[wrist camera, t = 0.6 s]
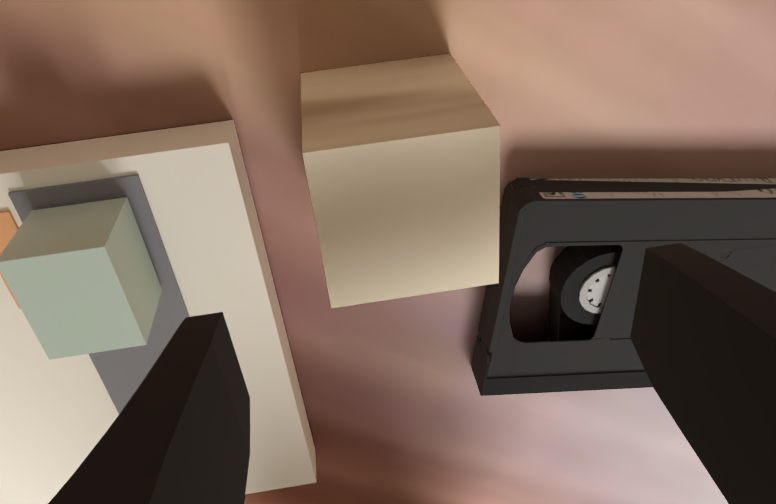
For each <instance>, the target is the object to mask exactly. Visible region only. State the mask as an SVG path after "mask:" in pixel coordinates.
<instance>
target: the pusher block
mask: <svg viewBox="0 0 776 504" xmlns="http://www.w3.org/2000/svg"><path fill="white" fill-rule="evenodd" d="M301 114H302V154H303V159H304V165H305V170H306V175H307V181H308V186H309V191H310V197H311V202H312V207H313V213H314V218H315V223H316V229H317V234H318V239H319V245H320V250H321V255H322V261H323V266H324V271H325V277H326V282H327V287H328V293H329V298H330V303H331V308H337V307H344V306H351V305H357V304H364V303H371V302H377V301H384V300H390V299H397V298H404V297H410V296H417V295H424V294H430V293H437V292H443V291H450V290H457V289H463V288H470V287H477V286H483V285H490V284H497V283H499V217H500V124H499V123H498V121H497V120H496V119H495V117H494V116H493V114H492V113H491V111H490V110H489V109H488V107H487V106H486V104H485V103H484V101H483V100H482V99H481V97H480V96H479V94H478V93H477V91H476V90H475V88H474V87H473V86H472V84H471V83H470V81H469V80H468V78H467V77H466V76H465V74H464V73H463V71H462V70H461V68H460V67H459V66H458V64H457V63H456V61H455V60H454V58H453V57H452V56H451V54H450V53H449V54H441V55H434V56H426V57H419V58H411V59H404V60H396V61H389V62H381V63H374V64H366V65H359V66H351V67H343V68H336V69H328V70H321V71H313V72H306V73H301Z"/></svg>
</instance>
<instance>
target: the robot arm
mask: <svg viewBox="0 0 776 504" xmlns="http://www.w3.org/2000/svg"><path fill="white" fill-rule="evenodd" d="M630 338H631V340H632V343H633V345H634V347H635V349H636V352H637V354H638V356H639V358H640V360H641V363H642V365H643V367H644V369H645V371H646V373H647V375H648V377H649V379H650V381H651V383H652V385H653V387H654V389H655V391H656V392H657V394H658V395H659V397H660V399H661V400H662V402H663V403H664V405H665V406H666V408H667V410H668V411H669V413H670V414H671V416H672V417H673V419H674V420H675V422H676V424H677V425H678V427H679V428H680V430H681V431H682V433H683V434H684V436H685V437H686V439H687V440H688V442H689V444H690V445H691V447H692V448H693V450H694V451H695V453H696V454H697V456H698V457H699V459H700V460H701V462H702V463H703V465H704V466H705V468H706V469H707V471H708V473H709V474H710V476H711V477H712V479H713V480H714V482H715V483H716V485H717V486H718V488H719V489H720V491H721V492H722V494H723V495H724V497H725V499H726V500H727V502H728V503H729V504H776V292H774V291H773V290H771V289H769V288H767V287H765V286H763V285H761V284H759V283H758V282H756V281H754V280H752V279H750V278H748V277H746V276H744V275H743V274H741V273H739V272H737V271H735V270H733V269H731V268H730V267H728V266H726V265H724V264H722V263H720V262H718V261H716V260H714V259H713V258H711V257H709V256H707V255H705V254H703V253H701V252H699V251H697V250H695V249H693V248H691V247H688V246H686V245H684V244H682V243H676V244H670V245H663V246H656V247H650V248H646V250H645V255H644V261H643V267H642V272H641V278H640V284H639V289H638V295H637V301H636V306H635V312H634V318H633V323H632V329H631V335H630ZM249 458H250V396H249V393H248V390H247V387H246V384H245V380H244V377H243V374H242V371H241V368H240V365H239V362H238V358H237V355H236V352H235V349H234V346H233V343H232V340H231V337H230V333H229V330H228V327H227V324H226V321H225V318H224V315H223V312H218V313H212V314H205V315H198V316H192V317H186V318H185V319H184V320H183V321H182V323H181V324H180V325H179V327H178V328H177V330H176V331H175V333H174V334H173V336H172V337H171V339H170V340H169V342H168V344H167V345H166V347H165V348H164V350H163V351H162V353H161V354H160V356H159V357H158V359H157V360H156V362H155V363H154V365H153V366H152V368H151V369H150V371H149V372H148V374H147V375H146V377H145V378H144V380H143V381H142V383H141V384H140V385H139V387H138V388H137V390H136V391H135V393H134V394H133V395H132V397H131V398H130V400H129V401H128V402H127V404H126V405H125V407H124V408H123V409H122V411H121V412H120V414H119V415H118V417H117V418H116V419H115V421H114V422H113V423H112V425H111V426H110V427H109V429H108V430H107V431H106V433H105V434H104V435H103V437H102V438H101V439H100V440H99V442H98V443H97V444H96V445H95V447H94V448H93V449H92V451H91V452H90V453H89V454H88V456H87V457H86V458H85V460H84V461H83V462H82V463H81V465H80V466H79V467H78V469H77V470H76V471H75V472H74V474H73V475H72V476H71V477H70V478H69V480H68V481H67V482H66V483H65V484H64V486H63V487H62V488H61V489H60V490H59V491H58V493H57V494H56V495H55V496H54V497H53V498H52V500H51V501H50V502H49V503H48V504H244V501H245V492H246V484H247V475H248V467H249Z"/></svg>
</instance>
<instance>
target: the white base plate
mask: <svg viewBox="0 0 776 504" xmlns="http://www.w3.org/2000/svg"><path fill="white" fill-rule="evenodd" d="M124 197H127V198H128V201H129V204H130V206H131V209H132V211H133V214H134V217H135V219H136V222H137V225H138V227H139V230H140V232H141V235H142V238H143V240H144V243H145V246H146V248H147V251H148V253H149V256H150V259H151V261H152V264H153V267H154V269H155V272H156V275H157V277H158V280H159V282H160V285H161V288H162V292H161V295H160V299H159V302H158V306H157V309H156V313H155V316H154V320H153V323H152V327H151V330H150V334H149V337H148V341H147V344H146V345H142V346H136V347H129V348H123V349H116V350H110V351H103V352H97V353H90V354H83V355H77V356H70V357H64V358H57V359H51V360H49V358H48V356H47V355H46V353H45V351H44V349H43V347H42V346H41V344H40V342H39V340H38V338H37V337H36V335H35V333H34V331H33V329H32V328H31V326H30V324H29V322H28V321H27V319H26V317H25V315H24V313H23V312H22V310H21V308H20V306H19V304H18V303H17V301H16V299H15V297H14V295H13V294H12V292H11V290H10V288H9V286H8V285H7V283H6V281H5V279H4V277H3V276H2V274H1V272H0V504H48V503H49V502H50V501H51V500H52V498H53V497H54V496H55V495H56V494H57V493H58V491H59V490H60V489H61V488H62V487H63V486H64V484H65V483H66V482H67V481H68V480H69V478H70V477H71V476H72V475H73V474H74V472H75V471H76V470H77V469H78V467H79V466H80V465H81V463H82V462H83V461H84V460H85V458H86V457H87V456H88V454H89V453H90V452H91V451H92V449H93V448H94V447H95V445H96V444H97V443H98V442H99V440H100V439H101V438H102V437H103V435H104V434H105V433H106V431H107V430H108V429H109V427H110V426H111V425H112V423H113V422H114V421H115V419H116V418H117V417H118V415H119V414H120V412H121V411H122V409H123V408H124V407H125V405H126V404H127V402H128V401H129V400H130V398H131V397H132V395H133V394H134V393H135V391H136V390H137V388H138V387H139V385H140V384H141V383H142V381H143V380H144V378H145V377H146V375H147V374H148V372H149V371H150V369H151V368H152V366H153V365H154V363H155V362H156V360H157V359H158V357H159V356H160V354H161V353H162V351H163V350H164V348H165V347H166V345H167V344H168V342H169V340H170V339H171V337H172V336H173V334H174V333H175V331H176V330H177V328H178V327H179V325H180V324H181V323H182V321H183V320H184V319H185V318H186V317H192V316H198V315H205V314H212V313H218V312H223V315H224V318H225V321H226V324H227V327H228V330H229V333H230V337H231V340H232V343H233V346H234V349H235V352H236V355H237V358H238V362H239V365H240V368H241V371H242V374H243V377H244V380H245V384H246V387H247V390H248V393H249V396H250V458H249V467H248V475H247V484H246V492H245V494H251V493H257V492H263V491H269V490H275V489H281V488H287V487H293V486H299V485H305V484H311V483H316V455H315V447H314V443H313V439H312V435H311V431H310V427H309V423H308V419H307V415H306V411H305V406H304V402H303V398H302V394H301V390H300V386H299V382H298V378H297V374H296V370H295V366H294V362H293V358H292V354H291V350H290V346H289V342H288V338H287V334H286V330H285V326H284V322H283V318H282V314H281V310H280V306H279V302H278V298H277V294H276V290H275V286H274V282H273V278H272V274H271V270H270V265H269V261H268V257H267V253H266V249H265V245H264V241H263V237H262V233H261V229H260V225H259V221H258V217H257V213H256V209H255V205H254V201H253V197H252V193H251V189H250V185H249V181H248V177H247V173H246V169H245V165H244V161H243V157H242V153H241V149H240V145H239V141H238V137H237V133H236V128H235V124H234V120H228V121H221V122H213V123H206V124H199V125H191V126H184V127H176V128H169V129H162V130H154V131H147V132H139V133H132V134H125V135H117V136H110V137H102V138H95V139H88V140H80V141H73V142H66V143H58V144H51V145H43V146H36V147H29V148H21V149H14V150H6V151H0V255H1V253H2V252H3V250H4V249H5V248H6V246H7V245H8V243H9V242H10V240H11V239H12V237H13V236H14V235H15V233H16V232H17V230H18V229H19V227H20V226H21V224H22V223H23V222H24V220H25V219H26V217H27V216H28V214H29V213H30V211H31V210H39V209H46V208H53V207H60V206H67V205H74V204H81V203H88V202H96V201H103V200H110V199H117V198H124Z"/></svg>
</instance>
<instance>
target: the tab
mask: <svg viewBox="0 0 776 504" xmlns="http://www.w3.org/2000/svg"><path fill="white" fill-rule="evenodd" d="M0 272H1V274H2V276H3V277H4V279H5V281H6V283H7V285H8V286H9V288H10V290H11V292H12V294H13V295H14V297H15V299H16V301H17V303H18V304H19V306H20V308H21V310H22V312H23V313H24V315H25V317H26V319H27V321H28V322H29V324H30V326H31V328H32V329H33V331H34V333H35V335H36V337H37V338H38V340H39V342H40V344H41V346H42V347H43V349H44V351H45V353H46V355H47V356H48V358H49V360H51V359H57V358H64V357H70V356H77V355H83V354H90V353H97V352H103V351H110V350H116V349H123V348H129V347H136V346H142V345H146V344H147V341H148V337H149V334H150V330H151V327H152V323H153V320H154V316H155V313H156V309H157V306H158V302H159V299H160V295H161V292H162V288H161V285H160V282H159V280H158V277H157V275H156V272H155V269H154V267H153V264H152V261H151V259H150V256H149V253H148V251H147V248H146V246H145V243H144V240H143V238H142V235H141V232H140V230H139V227H138V225H137V222H136V219H135V217H134V214H133V211H132V209H131V206H130V204H129V201H128V198H127V197H124V198H117V199H110V200H103V201H96V202H88V203H81V204H74V205H67V206H60V207H53V208H46V209H39V210H31V211H30V213H29V214H28V216H27V217H26V219H25V220H24V222H23V223H22V224H21V226H20V227H19V229H18V230H17V232H16V233H15V235H14V236H13V237H12V239H11V240H10V242H9V243H8V245H7V246H6V248H5V249H4V250H3V252H2V253H1V255H0Z"/></svg>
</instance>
